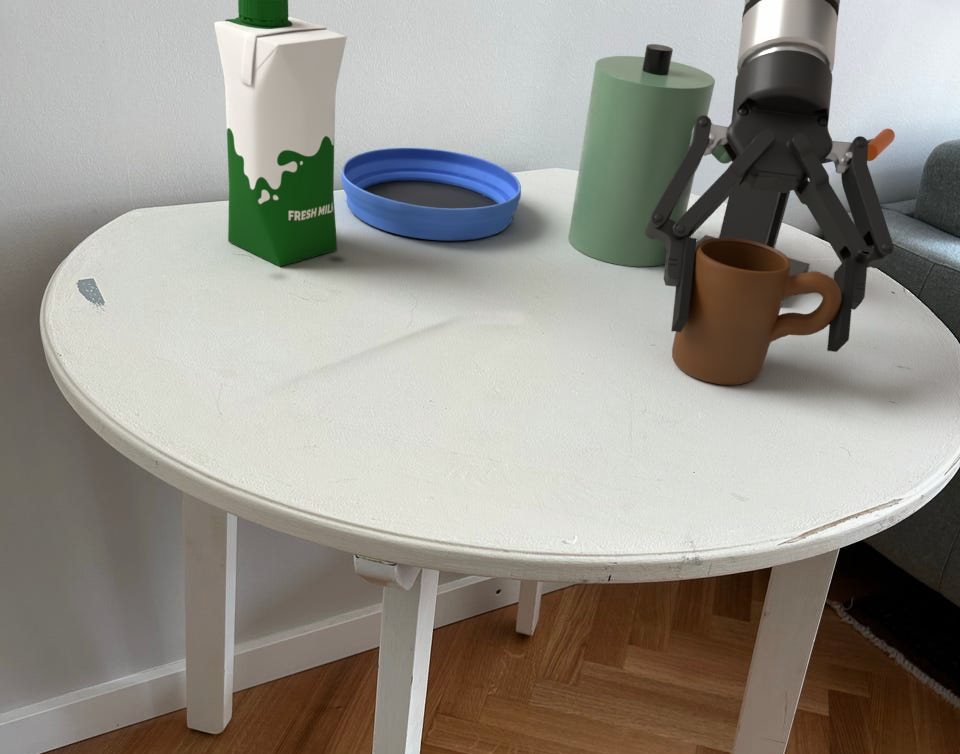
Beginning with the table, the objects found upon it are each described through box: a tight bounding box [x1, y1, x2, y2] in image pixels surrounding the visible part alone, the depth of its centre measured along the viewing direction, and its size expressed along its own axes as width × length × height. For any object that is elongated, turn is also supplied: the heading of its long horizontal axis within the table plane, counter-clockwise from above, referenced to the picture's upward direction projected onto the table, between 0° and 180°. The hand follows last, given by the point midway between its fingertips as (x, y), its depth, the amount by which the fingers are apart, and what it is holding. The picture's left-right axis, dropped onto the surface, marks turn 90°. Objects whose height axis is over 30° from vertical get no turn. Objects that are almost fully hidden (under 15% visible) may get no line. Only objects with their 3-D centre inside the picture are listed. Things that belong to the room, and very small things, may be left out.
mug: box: [671, 237, 842, 386], centre depth 89 cm, size 12×8×9 cm, turn 74°
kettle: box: [568, 43, 732, 268], centre depth 105 cm, size 15×11×18 cm
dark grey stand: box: [695, 181, 811, 303], centre depth 105 cm, size 11×10×12 cm
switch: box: [822, 128, 896, 165], centre depth 100 cm, size 12×7×2 cm, turn 62°
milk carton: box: [213, 0, 348, 267], centre depth 96 cm, size 9×9×20 cm
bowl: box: [340, 147, 522, 242], centre depth 112 cm, size 18×18×4 cm
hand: (758, 335), depth 87 cm, fingers closed on mug, 12 cm apart
